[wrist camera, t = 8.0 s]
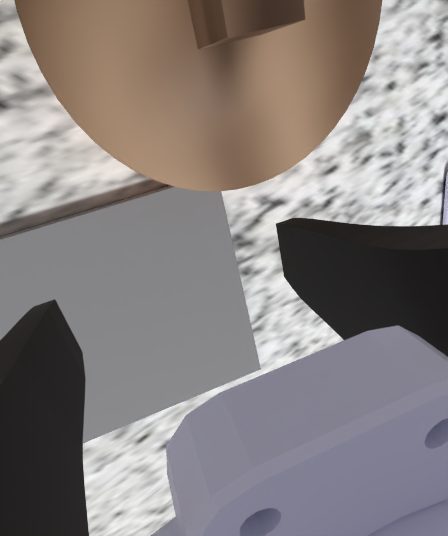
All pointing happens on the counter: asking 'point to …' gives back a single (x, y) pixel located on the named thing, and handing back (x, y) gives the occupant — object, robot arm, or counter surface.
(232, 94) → the lid
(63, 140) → the counter surface
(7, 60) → the counter surface
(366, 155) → the counter surface
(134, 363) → the mat
